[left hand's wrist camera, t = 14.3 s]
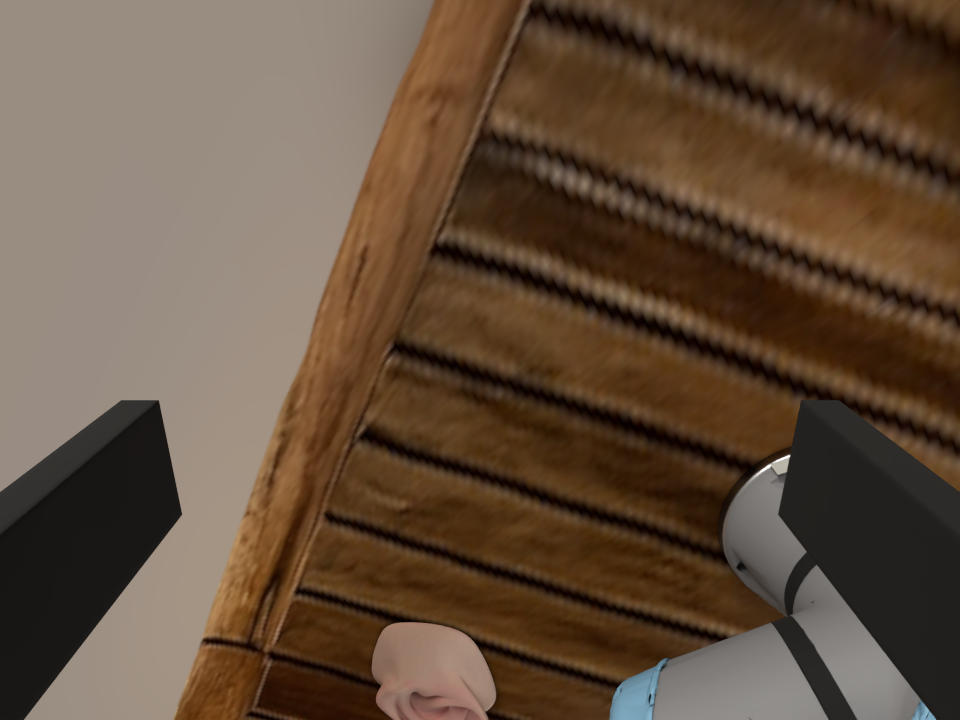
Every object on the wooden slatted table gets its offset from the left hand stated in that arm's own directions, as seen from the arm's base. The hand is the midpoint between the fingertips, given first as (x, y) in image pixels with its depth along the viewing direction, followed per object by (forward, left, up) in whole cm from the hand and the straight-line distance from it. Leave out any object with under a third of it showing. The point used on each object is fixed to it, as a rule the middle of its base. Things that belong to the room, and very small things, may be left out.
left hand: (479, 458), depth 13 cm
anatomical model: (-9, +42, -34) cm, 55 cm away
